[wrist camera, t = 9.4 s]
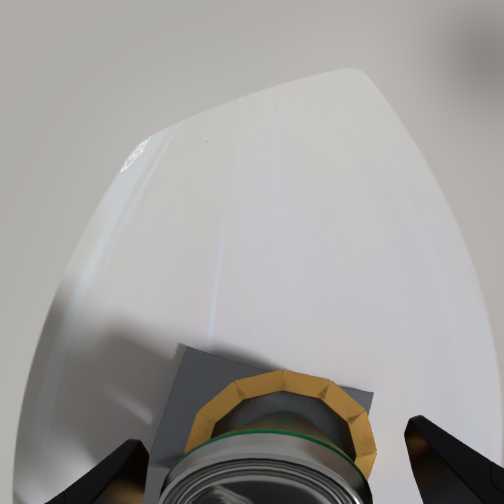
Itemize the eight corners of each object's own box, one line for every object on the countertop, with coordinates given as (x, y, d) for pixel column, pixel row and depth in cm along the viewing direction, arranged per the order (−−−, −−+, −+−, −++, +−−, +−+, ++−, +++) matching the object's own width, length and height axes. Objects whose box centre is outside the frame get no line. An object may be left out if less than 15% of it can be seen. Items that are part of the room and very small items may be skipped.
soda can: (258, 399, 15) (190, 392, 5) (338, 426, 14) (427, 467, 4) (224, 468, 13) (113, 549, 3) (303, 497, 12) (313, 622, 1)
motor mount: (305, 561, 9) (310, 621, 3) (138, 509, 12) (76, 539, 6) (369, 393, 15) (418, 385, 9) (191, 349, 18) (140, 316, 12)
